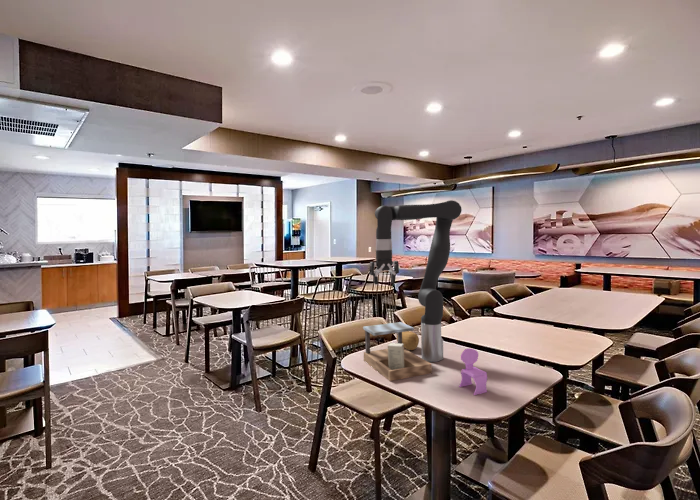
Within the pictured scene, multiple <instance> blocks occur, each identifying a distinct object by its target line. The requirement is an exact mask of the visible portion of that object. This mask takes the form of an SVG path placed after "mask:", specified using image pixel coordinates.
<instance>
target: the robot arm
mask: <svg viewBox="0 0 700 500" xmlns="http://www.w3.org/2000/svg"><path fill="white" fill-rule="evenodd" d="M462 211H463V209H462V205H461V204H460V203H459V202H458V201H456V200H453V199H452V200H447V201H443V202H438V203H429V204H401V205H396V206H395V205H394V206H393V205H392V206H391V205H381V206H379V207H377V208H376V209H375V211H374V217H375V218H376V220H377V223H376V224H377V227H376V229H375V230H376V231H375V262H373V261H370V262H369V275H370V276H372V277H373V283H374V285H377V286H378V285H379V276H378V275H379V274H380V273H381V272H384V271H388V272H389V273H390V283H391V284H395V283H396V275H397V274H399V273H400V267H399V261H398V260H393V241H392V224H393V223H392V222H393V221H411V220H413V221H414V220H421V219H429V218H430V219H431V218H436V219H435V229H434V232H433V235H432V239H431V244H430V248H429V251H428V256H427V258H428V259H427V262H426V268H425V271H424V275H423V279H422V282H421V285H420V289H419V292H418V296H417V299H418V303H419V304H420V305H421V306H422V307H424V314H423V315H421V318H420V328H421V329H420V330H421V331H420V332H421V333H420V334H421V335H420V336H421V337H420V338H421V339H420V341H421V345H420V346H421V358H422V359H424V360H426V361H427V362H429V363H431V362H432V363H433V362H435V363H436V362H440V361H442V360H444V339H443V338H442V319H443V316H444V297H443V293H442V292H441V291H440V290H437V284H438V280H439V277H440V276H441V275H442V273H443V272H444V270H445V268H446V266H447V264H448V262H449V258H450V252H451V239H450V238H451V236H450V235H451V233H450V231H451V228H452V225H453V221H454V220H456V219H458V218H459V217H460V215H462ZM392 265H393V267H392ZM375 267H376V268H375Z"/></svg>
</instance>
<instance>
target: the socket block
mask: <svg viewBox="0 0 700 500" xmlns="http://www.w3.org/2000/svg"><path fill="white" fill-rule="evenodd" d="M362 329H363V330H364V334H365V336H364V337H365V351H363V362H365V361H366V362H367V363H368V364H367V363H366V362H365V363H366V364H367V365H369V366H370V367H371V366H372V367H373V368H372V367H371V368H372V369H374V370H375V371H376V372H377V371H378V372H377V373H379V374H380V375H381V376H383V378H385V379H387V381H389V382H393V381H398V380H402V379H407V378H413V377H419V376H424V375H429V374H432V372H433V371H432V367H433V366H432V365H433V364H432V363H431V362H429V361H426V360H424V359H422V357H421V356H418V355H417V354H415V353H414V352H412V351H410V350H408V349H406V348H404V367H405V368H400V369H394V370H391V369H390V368H389V367H388V348H384V349H377V350H376V349H375V350H371V336H370V335H372V336H375V337H376V336H381V335H388V334H397V335H398V341H397V343H400V344H402V332H406V331H411V332H414V330H415V327H413V326H410V325H409V324H406V323H404V322H402V321H399V322H397V321H396V322H390V323H384V324H374V325H367V326H365V325H364V326H362Z"/></svg>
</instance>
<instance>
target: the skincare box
mask: <svg viewBox="0 0 700 500" xmlns="http://www.w3.org/2000/svg"><path fill="white" fill-rule="evenodd" d="M387 349H388V367H389V368H390V369H391V370H394V369H400V368H405V367H404V349H405V348H404V344H400V343H398V342H396V343H395V342H389V343H388V345H387Z"/></svg>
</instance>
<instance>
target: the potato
mask: <svg viewBox="0 0 700 500" xmlns="http://www.w3.org/2000/svg"><path fill="white" fill-rule="evenodd" d="M396 341H397V342H398V334H397V335H396ZM419 343H420V338H419V335H417V333H415V332H414V331H405V332H402V344H404V349H406V350H408V351H410V350H411V351H414V350H416V349H417V348H418V346H419Z"/></svg>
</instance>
